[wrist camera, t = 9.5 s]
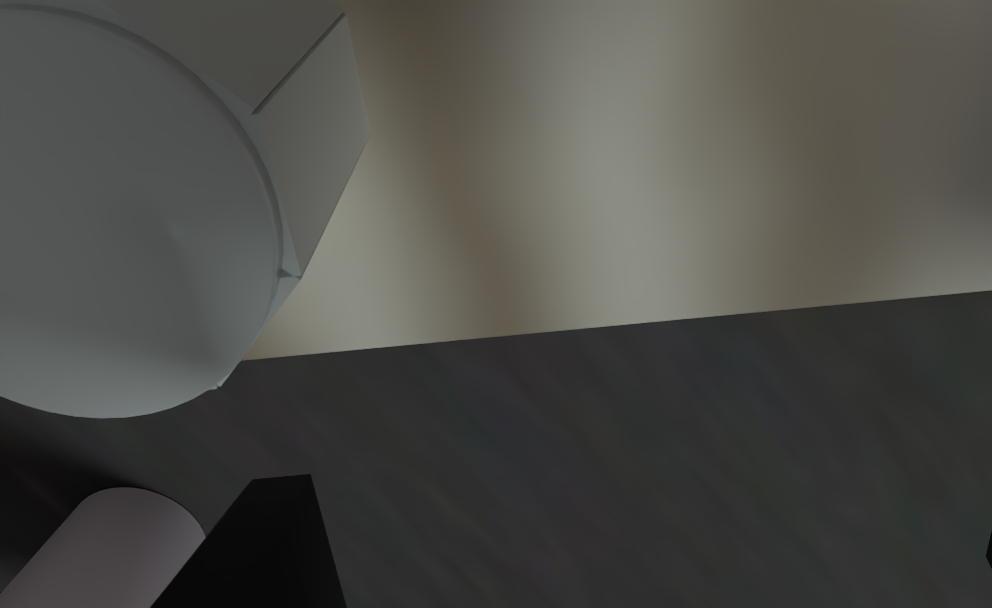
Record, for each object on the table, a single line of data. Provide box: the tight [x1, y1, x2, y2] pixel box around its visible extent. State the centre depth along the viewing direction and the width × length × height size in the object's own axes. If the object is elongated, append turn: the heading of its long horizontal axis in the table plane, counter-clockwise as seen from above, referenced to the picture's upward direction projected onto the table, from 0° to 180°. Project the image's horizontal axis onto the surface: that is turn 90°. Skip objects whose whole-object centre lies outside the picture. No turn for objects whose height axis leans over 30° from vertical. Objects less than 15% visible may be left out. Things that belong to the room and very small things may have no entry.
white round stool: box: [0, 0, 370, 418], centre depth 14 cm, size 6×6×7 cm
